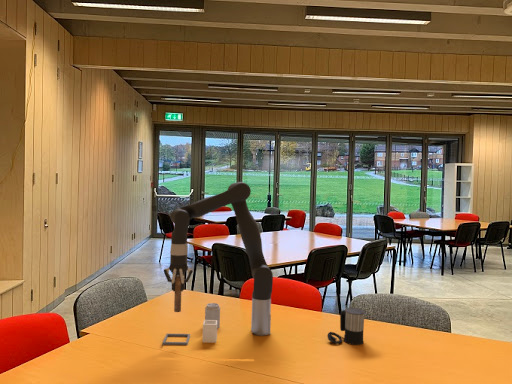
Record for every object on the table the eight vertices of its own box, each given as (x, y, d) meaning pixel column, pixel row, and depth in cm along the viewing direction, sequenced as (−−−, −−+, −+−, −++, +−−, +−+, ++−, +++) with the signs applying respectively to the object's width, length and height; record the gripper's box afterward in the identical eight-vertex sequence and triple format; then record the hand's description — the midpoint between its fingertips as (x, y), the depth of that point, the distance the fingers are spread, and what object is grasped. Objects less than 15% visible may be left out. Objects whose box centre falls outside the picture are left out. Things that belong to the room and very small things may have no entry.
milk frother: (367, 341, 208) (368, 310, 208) (349, 350, 197) (350, 317, 197) (341, 333, 218) (343, 304, 218) (323, 341, 207) (324, 310, 206)
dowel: (181, 310, 202) (182, 275, 201) (180, 312, 199) (181, 277, 198) (174, 310, 202) (175, 275, 201) (173, 312, 199) (174, 276, 198)
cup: (216, 339, 206) (217, 320, 205) (216, 344, 200) (216, 324, 199) (203, 339, 206) (204, 319, 205) (202, 344, 199) (202, 324, 199)
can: (212, 331, 215) (213, 307, 215) (201, 328, 220) (202, 304, 219) (222, 328, 221) (223, 304, 221) (211, 324, 226) (212, 301, 225)
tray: (190, 337, 207) (190, 333, 207) (187, 346, 196) (187, 342, 196) (166, 337, 206) (166, 333, 206) (162, 346, 195) (162, 342, 195)
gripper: (195, 252, 204) (194, 289, 204) (164, 251, 203) (163, 288, 204) (193, 255, 196) (192, 293, 197) (161, 254, 196) (160, 292, 196)
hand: (177, 290), depth 200 cm, fingers closed on dowel, 3 cm apart
